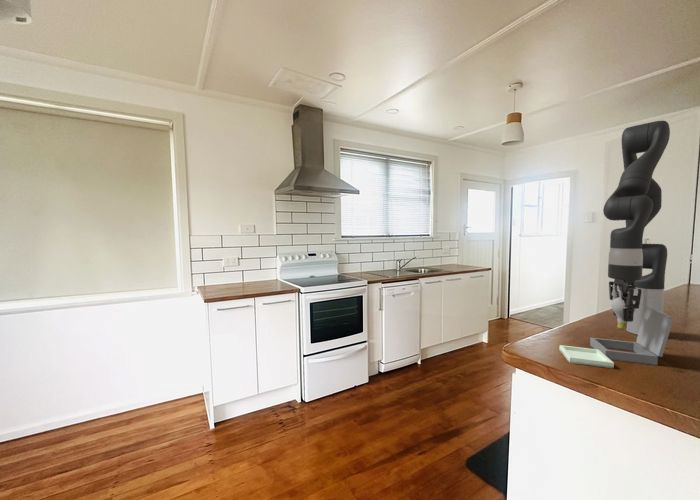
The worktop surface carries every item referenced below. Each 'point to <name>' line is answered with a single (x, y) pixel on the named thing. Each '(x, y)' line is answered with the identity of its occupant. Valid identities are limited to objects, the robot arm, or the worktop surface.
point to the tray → (586, 356)
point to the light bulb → (619, 312)
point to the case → (638, 357)
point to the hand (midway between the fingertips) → (622, 318)
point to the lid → (654, 331)
